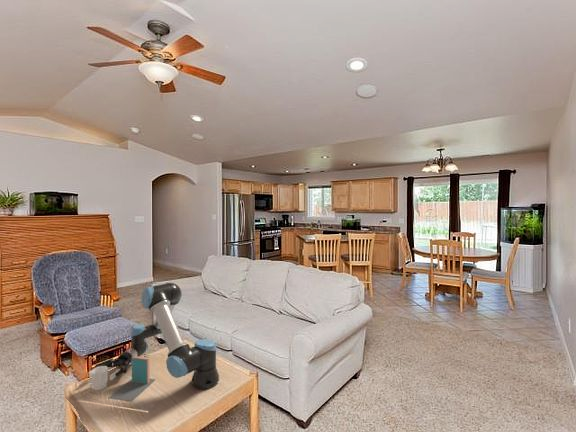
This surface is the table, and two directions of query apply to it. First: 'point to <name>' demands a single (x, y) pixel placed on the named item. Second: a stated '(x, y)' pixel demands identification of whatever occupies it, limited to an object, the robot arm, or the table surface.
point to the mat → (130, 390)
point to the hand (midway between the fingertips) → (99, 376)
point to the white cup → (99, 377)
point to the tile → (140, 369)
